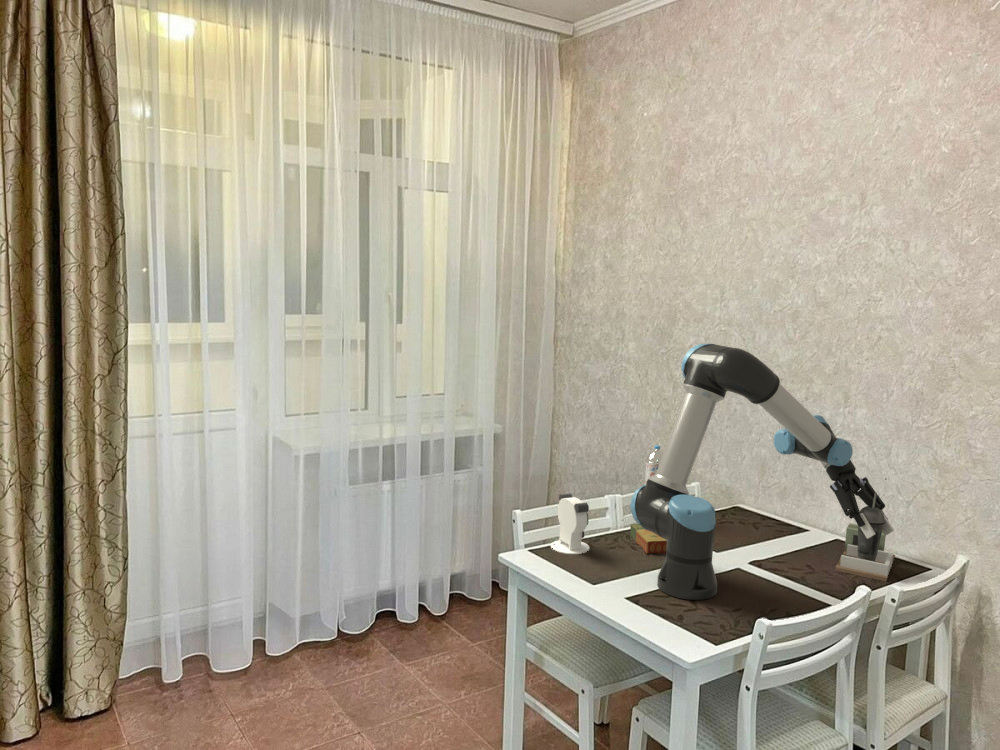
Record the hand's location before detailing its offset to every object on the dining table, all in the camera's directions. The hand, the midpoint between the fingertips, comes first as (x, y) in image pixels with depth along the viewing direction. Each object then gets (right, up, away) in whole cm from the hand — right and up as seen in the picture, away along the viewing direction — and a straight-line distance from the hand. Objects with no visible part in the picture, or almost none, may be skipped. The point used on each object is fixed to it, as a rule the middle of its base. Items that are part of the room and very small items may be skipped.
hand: (880, 534), depth 217 cm
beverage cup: (-2, -8, +4) cm, 9 cm away
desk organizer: (-1, -10, +8) cm, 13 cm away
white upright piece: (-85, -7, +13) cm, 86 cm away
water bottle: (-55, -4, +41) cm, 69 cm away
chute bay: (-2, -10, +5) cm, 12 cm away
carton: (-60, -7, +19) cm, 64 cm away
